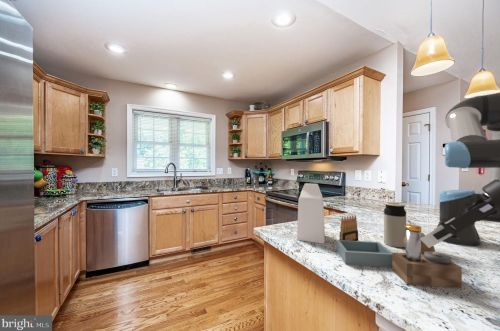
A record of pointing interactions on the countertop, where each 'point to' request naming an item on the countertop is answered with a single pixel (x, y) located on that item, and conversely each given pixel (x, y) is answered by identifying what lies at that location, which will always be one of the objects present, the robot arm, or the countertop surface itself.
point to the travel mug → (394, 224)
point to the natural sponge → (423, 246)
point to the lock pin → (413, 243)
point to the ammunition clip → (349, 229)
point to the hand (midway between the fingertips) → (431, 237)
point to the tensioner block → (428, 270)
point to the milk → (311, 215)
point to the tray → (364, 253)
